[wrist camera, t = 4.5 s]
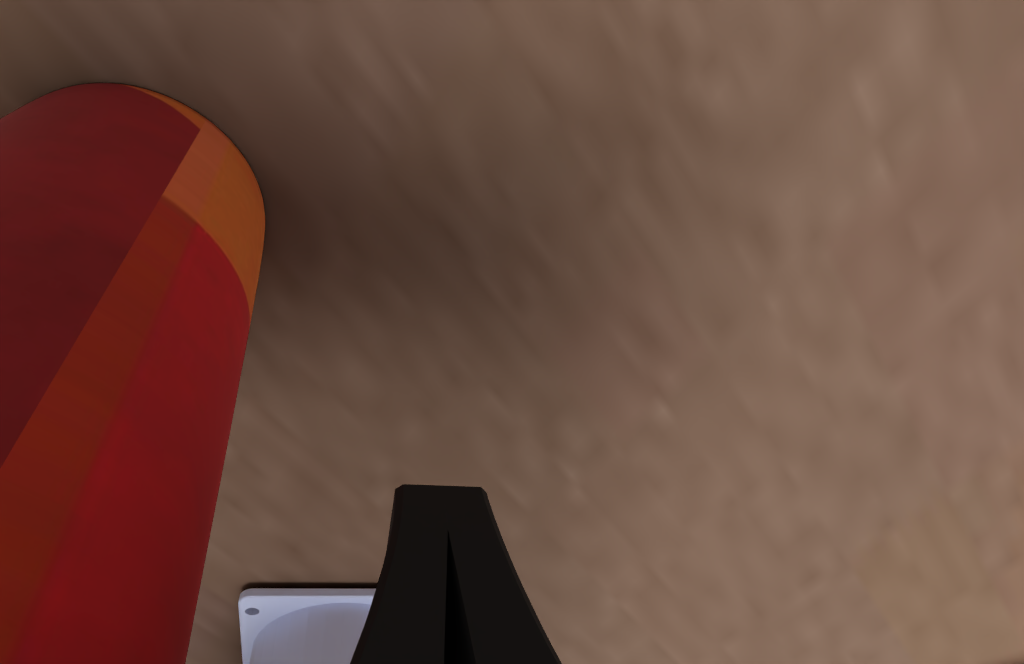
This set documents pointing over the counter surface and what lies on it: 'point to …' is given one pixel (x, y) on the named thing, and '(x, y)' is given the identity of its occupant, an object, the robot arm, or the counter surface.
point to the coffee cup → (116, 367)
